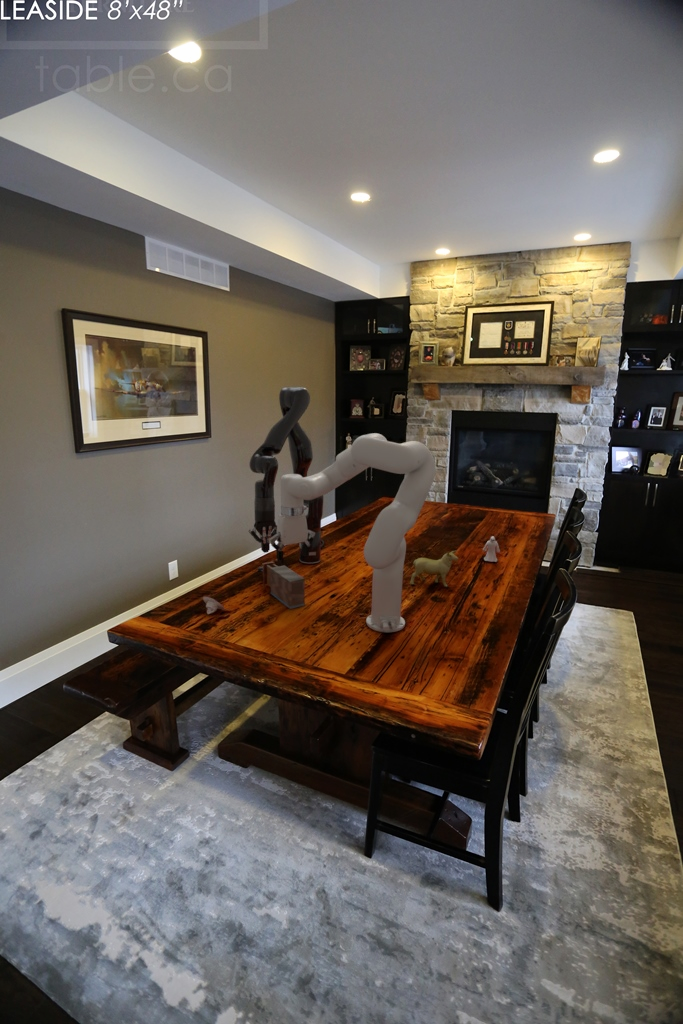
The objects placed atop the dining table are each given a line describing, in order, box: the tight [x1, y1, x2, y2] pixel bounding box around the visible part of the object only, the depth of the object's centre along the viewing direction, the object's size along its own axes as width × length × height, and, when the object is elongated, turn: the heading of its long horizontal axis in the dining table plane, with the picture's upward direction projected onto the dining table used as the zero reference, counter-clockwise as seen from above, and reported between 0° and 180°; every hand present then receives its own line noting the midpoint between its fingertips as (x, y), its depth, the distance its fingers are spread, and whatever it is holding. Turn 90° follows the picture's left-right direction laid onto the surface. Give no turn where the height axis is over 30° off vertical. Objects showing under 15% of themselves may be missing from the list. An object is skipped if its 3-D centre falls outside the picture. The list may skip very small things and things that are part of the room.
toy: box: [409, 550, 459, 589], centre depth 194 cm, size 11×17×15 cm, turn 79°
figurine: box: [482, 535, 501, 563], centre depth 223 cm, size 8×8×12 cm
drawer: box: [257, 561, 279, 589], centre depth 188 cm, size 20×4×8 cm, turn 33°
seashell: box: [202, 596, 226, 615], centre depth 167 cm, size 8×5×8 cm
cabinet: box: [270, 564, 306, 610], centre depth 179 cm, size 16×6×10 cm, turn 33°
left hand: (265, 551), depth 191 cm, fingers closed
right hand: (292, 558), depth 173 cm, fingers open, 9 cm apart
